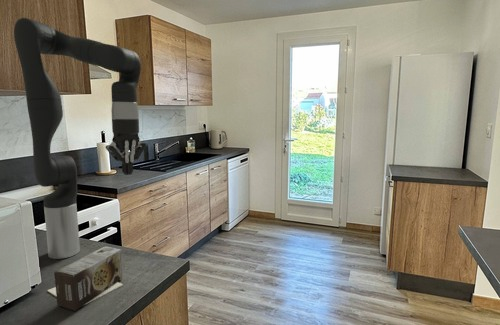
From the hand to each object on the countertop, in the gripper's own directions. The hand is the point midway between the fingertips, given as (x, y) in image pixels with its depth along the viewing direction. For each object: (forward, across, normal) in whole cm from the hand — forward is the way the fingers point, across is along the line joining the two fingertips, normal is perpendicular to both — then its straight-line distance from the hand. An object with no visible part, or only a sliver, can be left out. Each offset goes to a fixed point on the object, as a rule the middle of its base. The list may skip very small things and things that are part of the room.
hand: (127, 174), depth 96 cm
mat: (+29, +16, +3) cm, 33 cm away
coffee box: (+24, +9, +4) cm, 26 cm away
